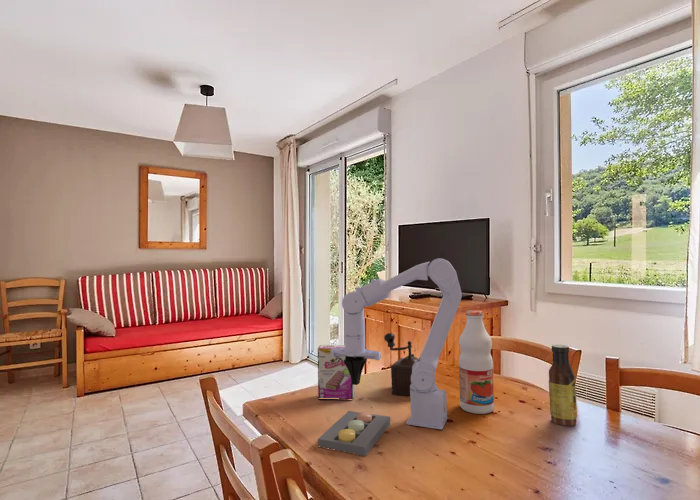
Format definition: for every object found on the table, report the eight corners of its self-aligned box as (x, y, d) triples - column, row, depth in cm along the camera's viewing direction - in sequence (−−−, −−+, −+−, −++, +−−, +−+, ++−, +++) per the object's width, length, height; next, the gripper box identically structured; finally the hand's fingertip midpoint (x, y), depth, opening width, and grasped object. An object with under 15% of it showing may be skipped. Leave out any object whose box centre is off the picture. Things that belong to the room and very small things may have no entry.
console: (390, 424, 106) (390, 416, 106) (365, 456, 90) (365, 447, 90) (349, 418, 111) (348, 410, 111) (318, 447, 95) (318, 438, 95)
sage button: (366, 430, 102) (366, 421, 102) (360, 437, 98) (360, 427, 98) (352, 428, 103) (351, 418, 103) (345, 434, 100) (345, 425, 100)
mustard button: (358, 440, 96) (357, 430, 96) (351, 447, 93) (351, 437, 93) (343, 437, 98) (342, 427, 98) (335, 444, 94) (335, 434, 94)
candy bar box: (318, 400, 125) (316, 348, 125) (320, 395, 130) (319, 344, 130) (353, 401, 124) (352, 348, 124) (355, 395, 129) (353, 344, 129)
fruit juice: (475, 400, 122) (473, 308, 123) (501, 409, 114) (498, 311, 114) (453, 406, 117) (450, 310, 118) (478, 417, 109) (476, 314, 110)
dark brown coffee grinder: (431, 387, 134) (429, 334, 135) (422, 398, 124) (421, 340, 125) (387, 382, 141) (386, 331, 141) (376, 392, 131) (374, 337, 131)
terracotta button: (374, 422, 107) (374, 412, 107) (368, 428, 103) (368, 418, 103) (360, 419, 108) (360, 411, 108) (354, 425, 105) (354, 416, 105)
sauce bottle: (581, 428, 101) (578, 349, 101) (554, 426, 102) (551, 348, 103) (572, 417, 108) (569, 343, 108) (547, 416, 109) (544, 343, 109)
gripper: (325, 336, 111) (326, 385, 111) (374, 339, 105) (375, 391, 105) (336, 331, 117) (337, 377, 117) (383, 334, 111) (384, 383, 111)
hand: (356, 383), depth 111 cm, fingers closed
